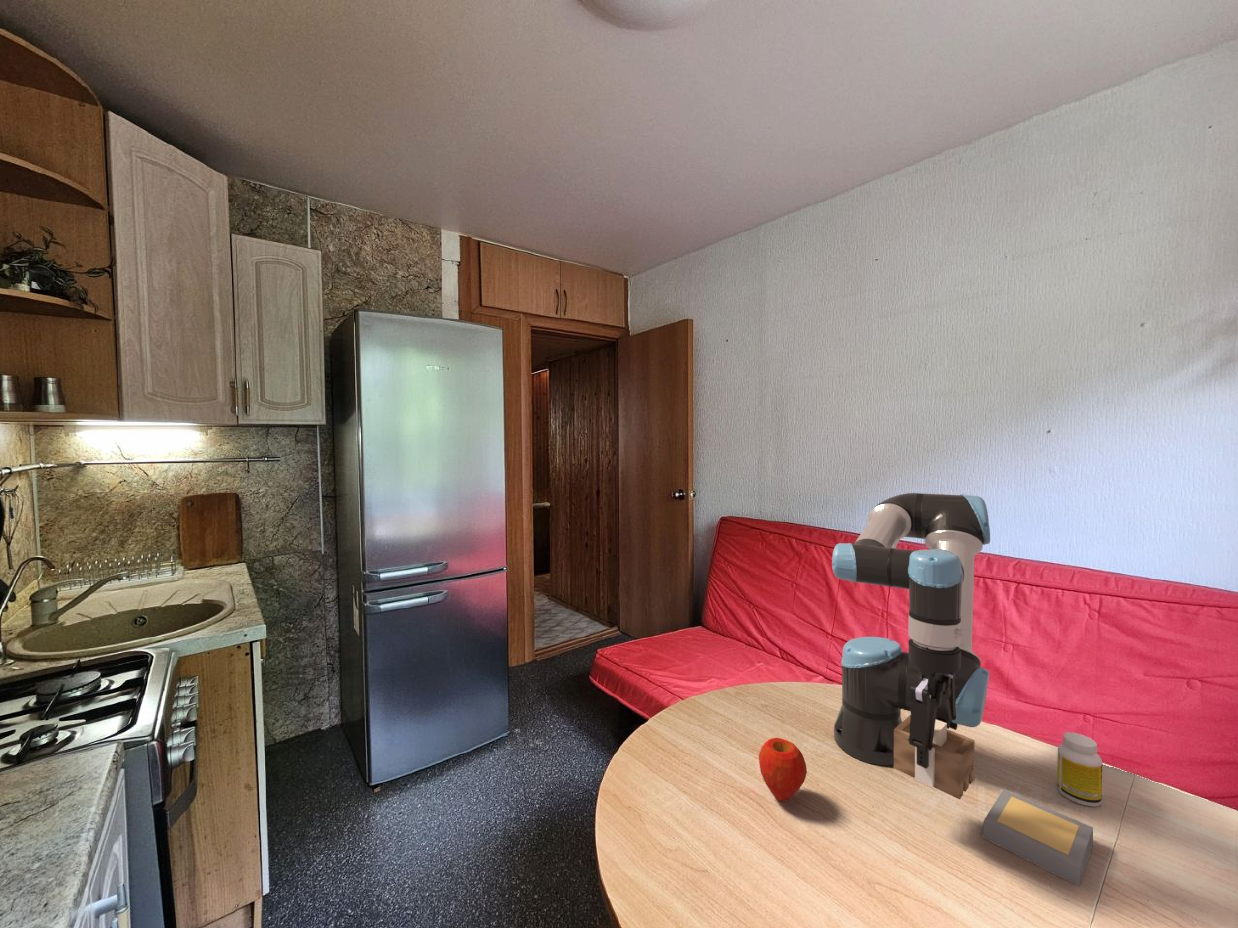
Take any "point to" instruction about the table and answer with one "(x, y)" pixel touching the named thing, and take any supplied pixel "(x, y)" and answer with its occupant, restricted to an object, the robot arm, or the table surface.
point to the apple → (782, 768)
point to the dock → (1040, 835)
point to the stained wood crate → (939, 760)
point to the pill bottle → (1079, 770)
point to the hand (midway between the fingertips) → (933, 772)
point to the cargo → (940, 733)
